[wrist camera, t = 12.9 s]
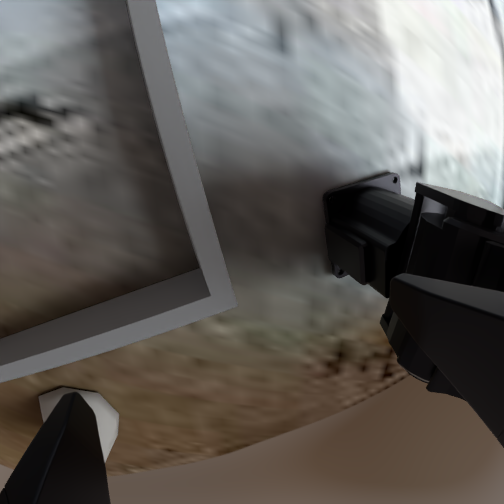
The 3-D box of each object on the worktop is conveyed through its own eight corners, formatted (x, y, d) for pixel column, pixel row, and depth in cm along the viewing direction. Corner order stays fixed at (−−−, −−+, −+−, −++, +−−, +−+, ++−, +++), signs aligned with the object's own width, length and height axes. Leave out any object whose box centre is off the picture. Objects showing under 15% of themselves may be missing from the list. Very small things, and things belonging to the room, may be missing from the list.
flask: (130, 435, 24) (143, 533, 15) (59, 439, 22) (56, 532, 13) (106, 381, 21) (108, 499, 12) (25, 386, 19) (4, 492, 10)
